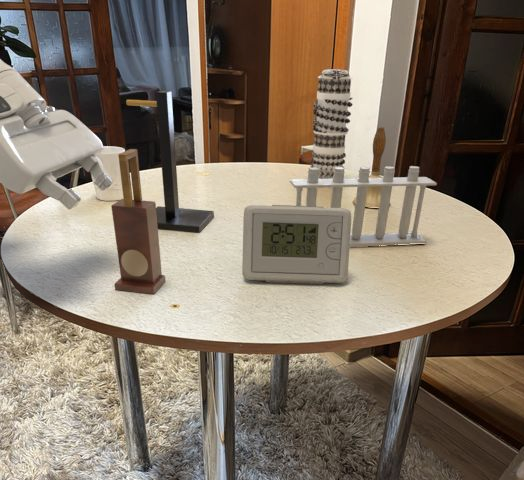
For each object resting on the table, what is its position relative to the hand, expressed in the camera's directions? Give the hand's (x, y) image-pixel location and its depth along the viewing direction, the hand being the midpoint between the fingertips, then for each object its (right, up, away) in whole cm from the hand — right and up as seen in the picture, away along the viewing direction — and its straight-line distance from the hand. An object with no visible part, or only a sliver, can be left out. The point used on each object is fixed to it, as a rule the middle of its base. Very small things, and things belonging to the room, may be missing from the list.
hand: (93, 195), depth 70 cm
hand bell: (+48, +11, +44) cm, 66 cm away
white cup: (-10, +13, +44) cm, 47 cm away
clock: (+5, -11, +6) cm, 14 cm away
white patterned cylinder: (+40, +21, +60) cm, 75 cm away
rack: (+6, +4, +30) cm, 31 cm away
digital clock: (+28, -10, +9) cm, 31 cm away
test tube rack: (+40, -2, +23) cm, 46 cm away
